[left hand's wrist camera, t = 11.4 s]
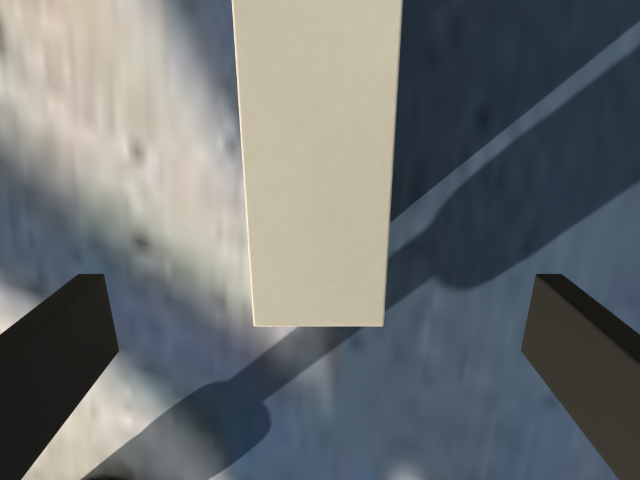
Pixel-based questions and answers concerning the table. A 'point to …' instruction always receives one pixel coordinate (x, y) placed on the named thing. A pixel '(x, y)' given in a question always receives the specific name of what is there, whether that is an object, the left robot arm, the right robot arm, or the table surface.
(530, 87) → the table surface
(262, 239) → the cabinet
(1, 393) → the left robot arm
